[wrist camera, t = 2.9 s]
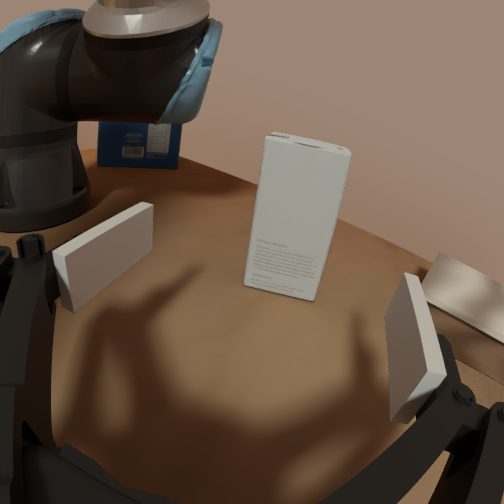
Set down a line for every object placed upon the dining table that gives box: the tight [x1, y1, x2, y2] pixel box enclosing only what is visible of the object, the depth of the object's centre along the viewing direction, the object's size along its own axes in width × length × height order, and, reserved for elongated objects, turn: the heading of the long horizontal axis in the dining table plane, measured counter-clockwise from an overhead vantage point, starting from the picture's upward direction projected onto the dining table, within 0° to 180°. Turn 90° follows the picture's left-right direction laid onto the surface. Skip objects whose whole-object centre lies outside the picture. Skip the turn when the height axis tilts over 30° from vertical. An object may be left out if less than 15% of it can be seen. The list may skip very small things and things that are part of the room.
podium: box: [421, 252, 504, 385], centre depth 23 cm, size 13×11×4 cm
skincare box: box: [244, 132, 352, 301], centre depth 24 cm, size 6×4×12 cm
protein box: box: [97, 121, 182, 169], centre depth 54 cm, size 10×15×16 cm
